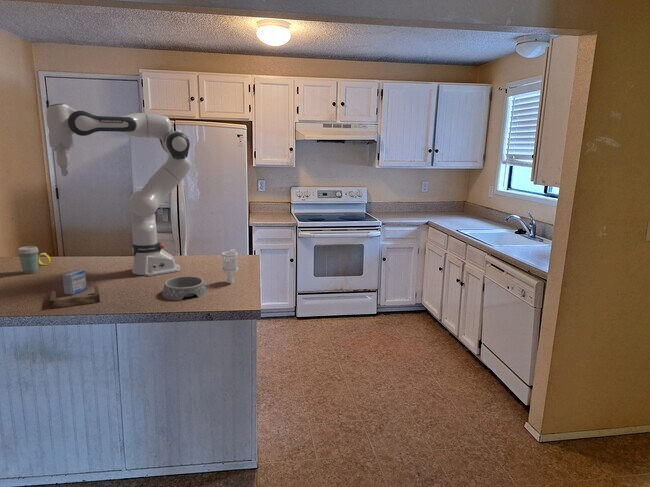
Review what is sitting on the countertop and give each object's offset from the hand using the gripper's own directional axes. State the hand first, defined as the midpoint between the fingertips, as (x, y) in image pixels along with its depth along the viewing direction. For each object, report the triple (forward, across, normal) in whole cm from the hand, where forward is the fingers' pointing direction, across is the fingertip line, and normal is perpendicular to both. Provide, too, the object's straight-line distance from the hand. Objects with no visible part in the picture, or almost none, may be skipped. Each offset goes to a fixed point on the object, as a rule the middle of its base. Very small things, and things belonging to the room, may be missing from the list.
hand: (65, 175), depth 195 cm
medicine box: (+48, -18, 0) cm, 51 cm away
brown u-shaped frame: (+48, -29, 0) cm, 56 cm away
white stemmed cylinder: (+48, -31, -63) cm, 85 cm away
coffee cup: (+47, +21, +20) cm, 55 cm away
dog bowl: (+49, -37, -41) cm, 74 cm away
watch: (+47, +33, +15) cm, 59 cm away
